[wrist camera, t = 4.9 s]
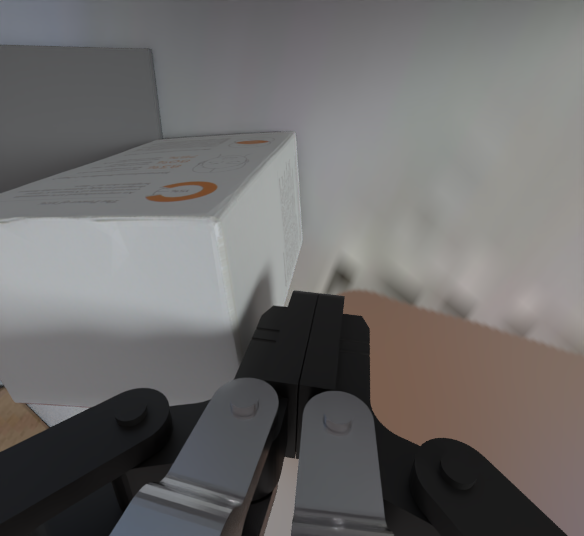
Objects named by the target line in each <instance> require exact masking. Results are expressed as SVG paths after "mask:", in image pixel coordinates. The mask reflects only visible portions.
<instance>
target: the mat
mask: <svg viewBox="0 0 584 536" xmlns="http://www.w3.org/2000/svg"><path fill="white" fill-rule="evenodd" d="M162 139H163V136H162V128H161V120H160V113H159V105H158V97H157V89H156V81H155V73H154V65H153V57H152V50H151V49H134V48H97V47H61V46H24V45H0V193H3V192H6V191H9V190H12V189H15V188H18V187H21V186H24V185H26V184H29V183H32V182H35V181H38V180H41V179H44V178H47V177H50V176H53V175H56V174H59V173H62V172H65V171H68V170H71V169H74V168H78V167H81V166H84V165H87V164H90V163H93V162H96V161H99V160H102V159H105V158H108V157H110V156H113V155H116V154H119V153H122V152H124V151H127V150H129V149H132V148H135V147H138V146H141V145H143V144H146V143H149V142H152V141H154V140H162Z"/></svg>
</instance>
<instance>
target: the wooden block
mask: <svg viewBox="0 0 584 536" xmlns="http://www.w3.org/2000/svg"><path fill="white" fill-rule="evenodd" d="M48 428H49V427H48V426H47V425H46V424H45V423H44V422H43V421H42V420H41V419H40V418H39V417H38V416H37V415H36V414H35V413H34V412H33V411H32V410H31V409H30V408H29V407H28V406H27V405H26V404H25V403H16V402H14V401H13V399H12V398H11V396H10V394H9V392H8V391H7V389H6V388H5V387H2V388H0V452H1V451H3V450H5V449H7V448H9V447H12V446H14V445H16V444H18V443H20V442H22V441H24V440H26V439H28V438H30V437H32V436H34V435H36V434H38V433H40V432H42V431H44V430H46V429H48Z"/></svg>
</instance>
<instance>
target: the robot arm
mask: <svg viewBox="0 0 584 536" xmlns="http://www.w3.org/2000/svg"><path fill="white" fill-rule="evenodd" d="M343 307H344V296H338V295H330V294H321V293H311V292H303V291H293V293H292V296H291V299H290V302H289V305H288V307H282V306H274V305H273V306H272V307H271V308H270V309H268V310H267V311H266V312H265V313H264V314H262V316H261V318H260V320H259V323H258V325H257V327H256V330H255V332H254V334H253V336H252V340H251V341H250V343H249V346H248V348H247V350H246V352H245V355H244V357H243V359H242V362H241V364H240V366H239V369H238V371H237V373H236V375H235V378H234V380H232V381H229V382H227V383H225V384H224V385H222V386H221V387H220V388H219V389H218V390H217V391H216V392H215V393H214V395H213V396H212V398H211V399H210V400H207V401H204V402H199V403H192V404H184V405H175V406H169V402H168V400H167V398H166V396H165V395H164V394H163V393H161V392H160V391H157V390H155V389H151V388H136V389H131V390H128V391H125V392H122V393H120V394H118V395H116V396H114V397H112V398H110V399H108V400H106V401H104V402H102V403H100V404H97V405H95V406H93V407H91V408H89V409H87V410H85V411H83V412H81V413H79V414H77V415H75V416H73V417H71V418H69V419H67V420H65V421H63V422H61V423H59V424H57V425H55V426H52V427H50V428H48V429H46V430H44V431H42V432H40V433H38V434H36V435H34V436H32V437H30V438H28V439H26V440H24V441H22V442H20V443H18V444H16V445H14V446H12V447H9V448H7V449H5V450H3V451H1V452H0V536H264V533H265V529H266V527H267V523H268V519H269V516H270V513H271V510H272V506H273V503H274V500H275V496H276V493H277V488H278V481H279V478H280V475H281V470H282V466H283V461H284V457H289V458H295V454H296V459H299V465H298V475H297V486H296V497H295V509H294V517H293V521H292V530H291V536H567V535H566V534H565V533H564V532H563V531H562V530H561V529H560V528H559V527H558V526H557V525H556V524H555V523H553V521H552V520H550V519H549V518H548V517H547V516H546V515H545V514H544V513H543V512H542V511H541V510H540V509H539V508H538V507H537V506H536V505H535V504H534V503H532V502H531V501H530V500H529V499H528V498H527V497H526V496H525V495H524V494H523V493H522V492H521V491H520V490H519V489H518V488H517V487H516V486H514V485H513V484H512V483H511V482H510V481H509V480H508V479H507V478H506V477H505V476H504V475H503V474H502V473H501V472H500V471H499V470H498V469H496V468H495V467H494V466H493V465H492V464H491V463H490V462H489V461H488V460H487V459H486V458H485V457H484V456H482V455H481V454H480V453H479V452H478V451H476V450H475V449H474V448H472V447H470V446H469V445H467V444H465V443H462V442H460V441H457V440H453V439H448V438H435V439H431V440H429V441H426V442H425V443H423V444H422V445H421V446H419V445H417V444H414V443H412V442H410V441H408V440H406V439H404V438H401V437H399V436H397V435H395V434H394V433H392V432H391V431H389V430H388V429H387V428H386V427H384V426H383V425H382V424H381V423H380V422H379V420H378V419H377V418H376V416H375V415H374V413H373V411H372V408H371V404H370V357H369V355H370V345H369V343H370V334H369V333H370V330H369V327H368V325H367V324H366V322H365V320H364V319H363V318H362V316H357V315H349V314H343Z"/></svg>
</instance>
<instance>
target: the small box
mask: <svg viewBox="0 0 584 536" xmlns="http://www.w3.org/2000/svg"><path fill="white" fill-rule="evenodd" d="M302 242H303V236H302V221H301V205H300V190H299V174H298V158H297V142H296V134H295V132H294V131H291V132H268V133H250V134H233V135H218V136H202V137H186V138H173V139H162V140H154V141H152V142H149V143H146V144H143V145H141V146H138V147H135V148H132V149H129V150H127V151H124V152H122V153H119V154H116V155H113V156H110V157H108V158H105V159H102V160H99V161H96V162H93V163H90V164H87V165H84V166H81V167H78V168H74V169H71V170H68V171H65V172H62V173H59V174H56V175H53V176H50V177H47V178H44V179H41V180H38V181H35V182H32V183H29V184H26V185H24V186H21V187H18V188H15V189H12V190H9V191H6V192H3V193H0V380H1V381H2V383H3V385H4V386H5V388H6V389H7V391H8V392H9V394H10V396H11V398H12V399H13V401H14V402H16V403H26V404H44V405H59V406H75V407H89V408H91V407H93V406H95V405H97V404H100V403H102V402H104V401H106V400H108V399H110V398H112V397H114V396H116V395H118V394H120V393H122V392H125V391H128V390H131V389H136V388H151V389H155V390H157V391H160V392H161V393H163V394H164V395H165V396H166V398H167V400H168V402H169V406H175V405H184V404H192V403H199V402H204V401H207V400H210V399H211V398H212V396H213V395H214V393H215V392H216V391H217V390H218V389H219V388H220V387H221V386H222V385H224V384H225V383H227V382H229V381H232V380H234V378H235V375H236V373H237V371H238V369H239V366H240V364H241V362H242V359H243V357H244V355H245V352H246V350H247V348H248V346H249V343H250V341H251V340H252V336H253V334H254V332H255V330H256V327H257V325H258V323H259V320H260V318H261V316H262V314H264V313H265V312H266V311H267V310H268V309H270V308H271V307H272V306H273V305H274V306H282V307H284V303H285V300H286V297H287V294H288V290H289V287H290V283H291V280H292V277H293V273H294V270H295V266H296V263H297V259H298V255H299V252H300V249H301V245H302Z"/></svg>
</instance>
